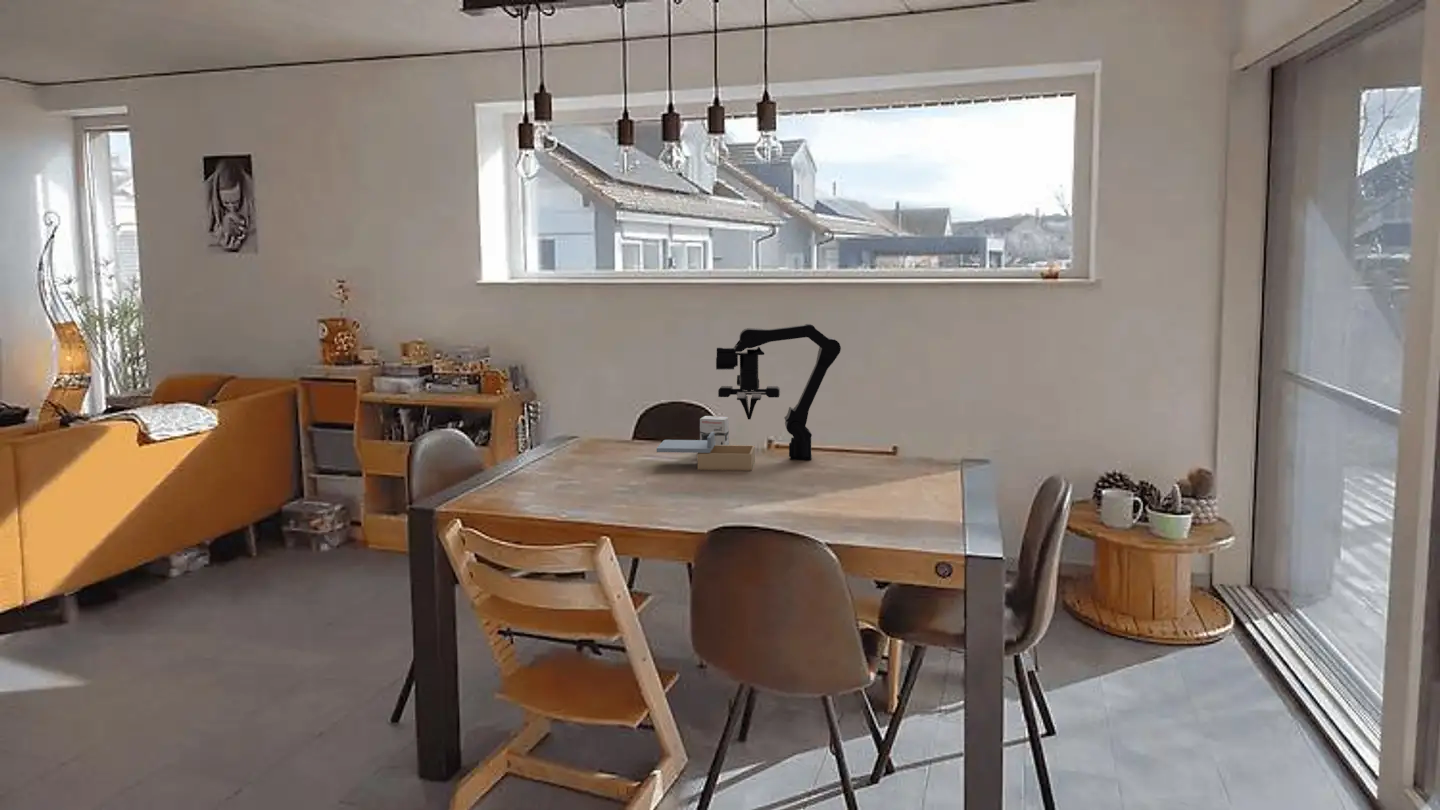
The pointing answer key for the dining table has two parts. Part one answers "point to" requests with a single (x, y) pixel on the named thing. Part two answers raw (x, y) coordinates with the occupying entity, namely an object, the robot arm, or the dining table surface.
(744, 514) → the dining table surface
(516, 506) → the dining table surface
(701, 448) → the lid
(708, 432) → the ink box
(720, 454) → the tan shallow open box
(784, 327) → the robot arm
